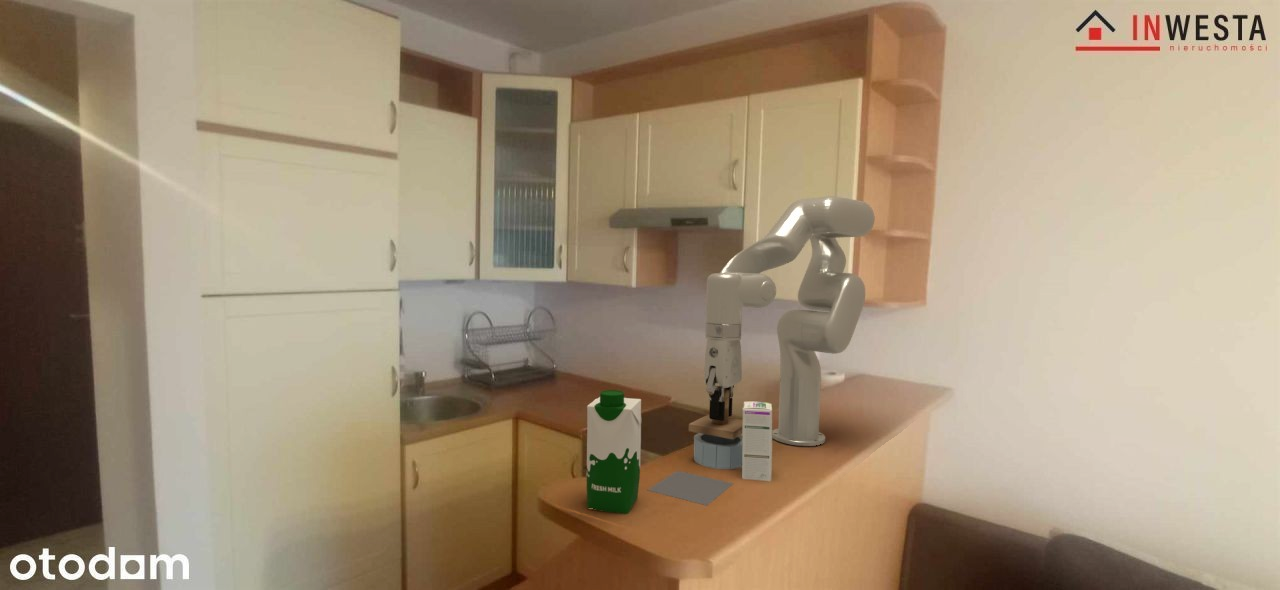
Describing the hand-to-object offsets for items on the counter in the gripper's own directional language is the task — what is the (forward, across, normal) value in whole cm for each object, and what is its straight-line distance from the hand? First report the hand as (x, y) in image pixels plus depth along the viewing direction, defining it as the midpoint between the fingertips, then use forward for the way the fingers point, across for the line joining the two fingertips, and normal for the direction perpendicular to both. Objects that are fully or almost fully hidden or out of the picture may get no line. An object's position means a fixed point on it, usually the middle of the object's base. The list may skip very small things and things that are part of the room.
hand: (720, 416), depth 119 cm
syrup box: (+10, -4, -10) cm, 14 cm away
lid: (+3, 0, 0) cm, 3 cm away
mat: (+10, -17, -2) cm, 20 cm away
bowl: (+10, 0, 0) cm, 10 cm away
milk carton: (+10, -31, +6) cm, 33 cm away
